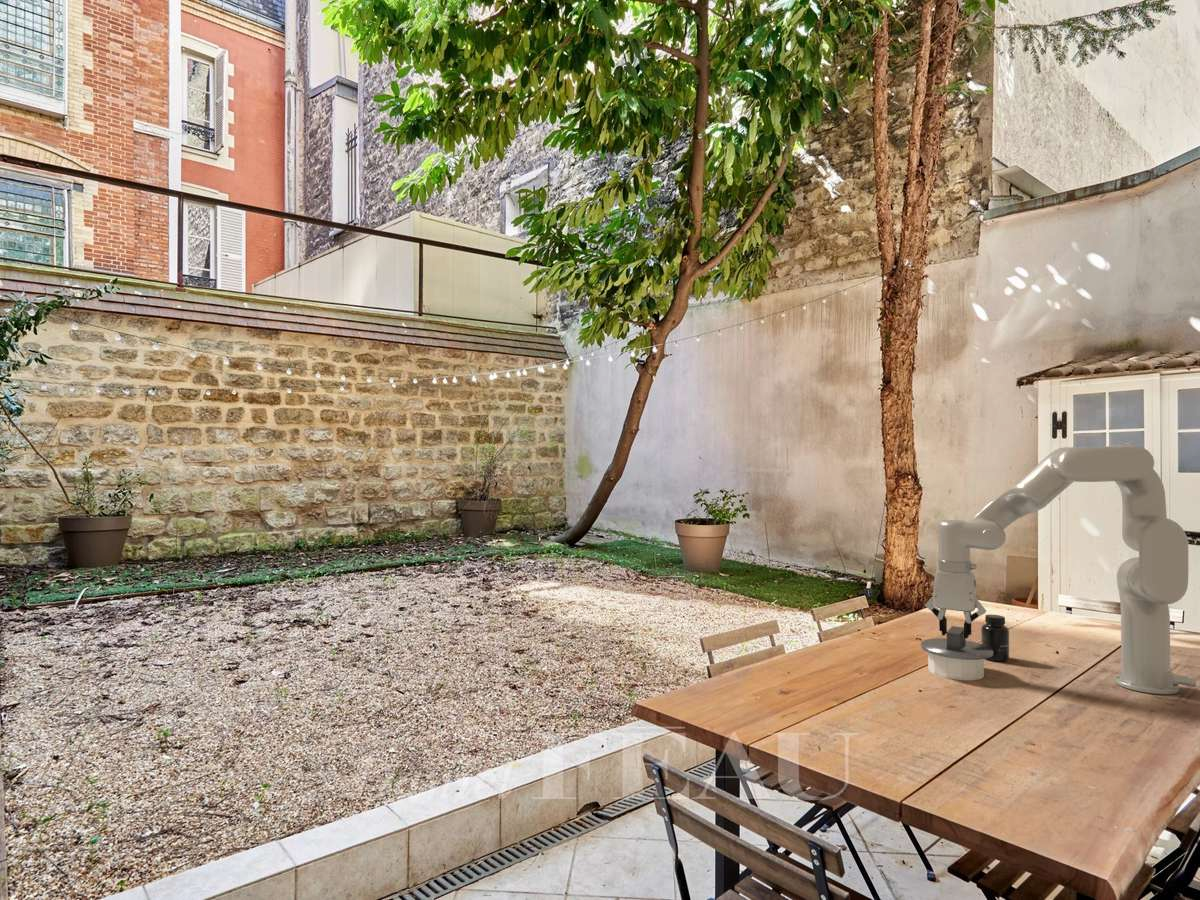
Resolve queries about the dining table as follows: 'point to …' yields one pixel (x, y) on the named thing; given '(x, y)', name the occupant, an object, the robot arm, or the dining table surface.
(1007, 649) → the supplement bottle
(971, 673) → the bowl
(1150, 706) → the dining table surface
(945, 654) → the lid
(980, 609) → the robot arm
